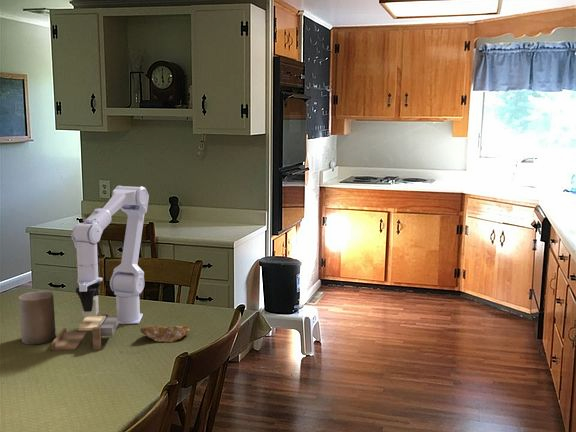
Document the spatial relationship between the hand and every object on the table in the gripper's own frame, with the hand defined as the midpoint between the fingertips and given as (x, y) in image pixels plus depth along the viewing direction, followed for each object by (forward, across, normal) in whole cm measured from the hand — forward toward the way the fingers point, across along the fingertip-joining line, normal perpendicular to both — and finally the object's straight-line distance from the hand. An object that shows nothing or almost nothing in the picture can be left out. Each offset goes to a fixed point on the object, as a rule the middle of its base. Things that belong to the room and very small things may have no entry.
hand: (89, 308), depth 187 cm
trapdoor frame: (+10, 0, +3) cm, 10 cm away
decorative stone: (+10, +2, -22) cm, 24 cm away
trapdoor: (+7, 0, -3) cm, 7 cm away
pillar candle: (+10, +2, +16) cm, 19 cm away
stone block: (-1, 0, 0) cm, 1 cm away
